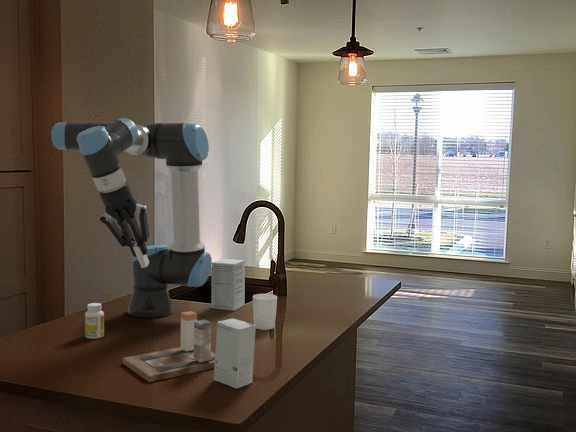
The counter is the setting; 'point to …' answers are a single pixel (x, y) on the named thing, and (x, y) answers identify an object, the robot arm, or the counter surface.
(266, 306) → the white cup
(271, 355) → the counter surface
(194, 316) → the tab
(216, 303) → the supplement box
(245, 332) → the skincare box
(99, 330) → the supplement bottle
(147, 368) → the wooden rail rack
